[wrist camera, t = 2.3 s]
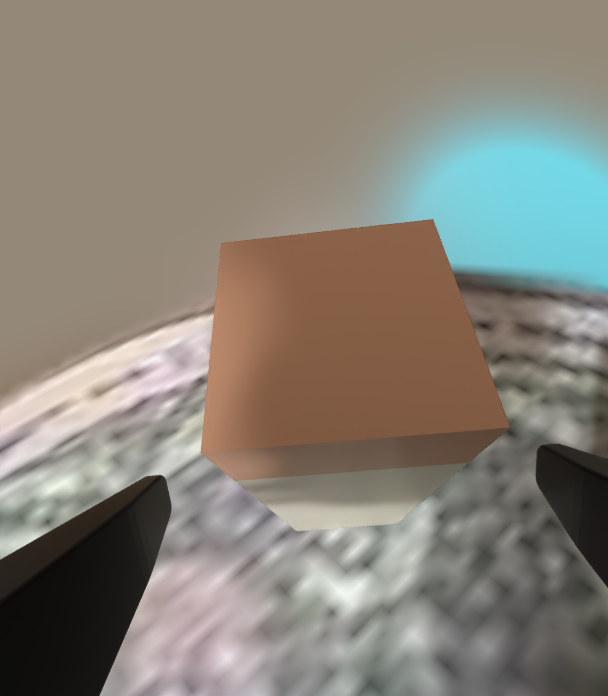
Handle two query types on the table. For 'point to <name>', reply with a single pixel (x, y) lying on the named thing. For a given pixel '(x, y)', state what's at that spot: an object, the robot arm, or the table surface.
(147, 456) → the table surface
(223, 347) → the plug
